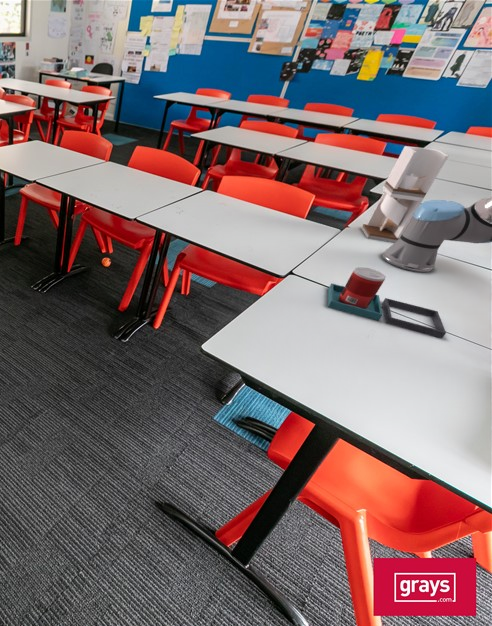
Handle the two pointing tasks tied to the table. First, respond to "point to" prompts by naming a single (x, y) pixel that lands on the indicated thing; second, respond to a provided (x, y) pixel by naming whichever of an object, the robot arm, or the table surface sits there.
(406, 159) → the white tiered tower
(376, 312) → the tray
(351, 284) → the canned food
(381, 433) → the table surface
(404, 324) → the tray
